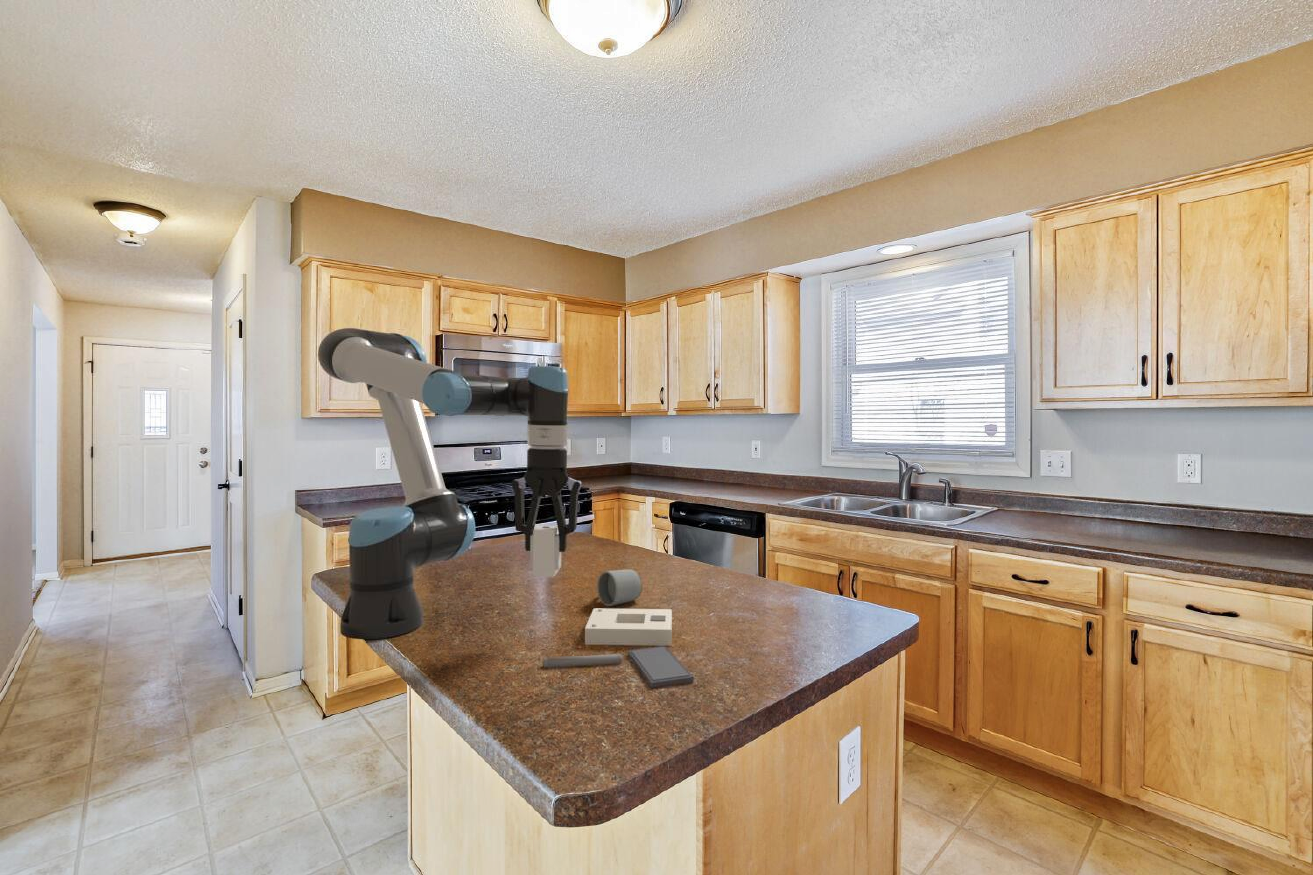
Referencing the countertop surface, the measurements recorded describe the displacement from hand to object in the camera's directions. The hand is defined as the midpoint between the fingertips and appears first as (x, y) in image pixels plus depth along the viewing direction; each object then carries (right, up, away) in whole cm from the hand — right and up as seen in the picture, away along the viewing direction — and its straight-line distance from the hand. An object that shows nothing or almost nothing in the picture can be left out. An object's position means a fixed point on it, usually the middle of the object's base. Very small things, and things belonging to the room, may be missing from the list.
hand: (545, 567), depth 118 cm
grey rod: (+9, -14, -14) cm, 22 cm away
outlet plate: (+16, -13, +1) cm, 21 cm away
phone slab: (+22, -14, -16) cm, 30 cm away
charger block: (0, -1, 0) cm, 1 cm away
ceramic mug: (+12, -13, +22) cm, 28 cm away
